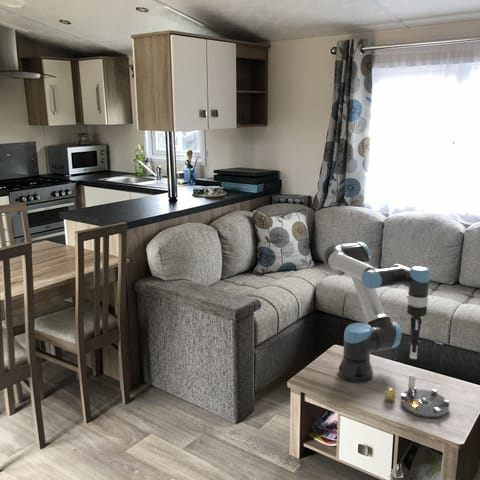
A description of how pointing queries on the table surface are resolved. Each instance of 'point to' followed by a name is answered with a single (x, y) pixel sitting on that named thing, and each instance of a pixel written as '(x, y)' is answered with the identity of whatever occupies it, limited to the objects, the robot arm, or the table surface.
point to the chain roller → (390, 394)
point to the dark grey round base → (424, 402)
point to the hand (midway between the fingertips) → (413, 357)
